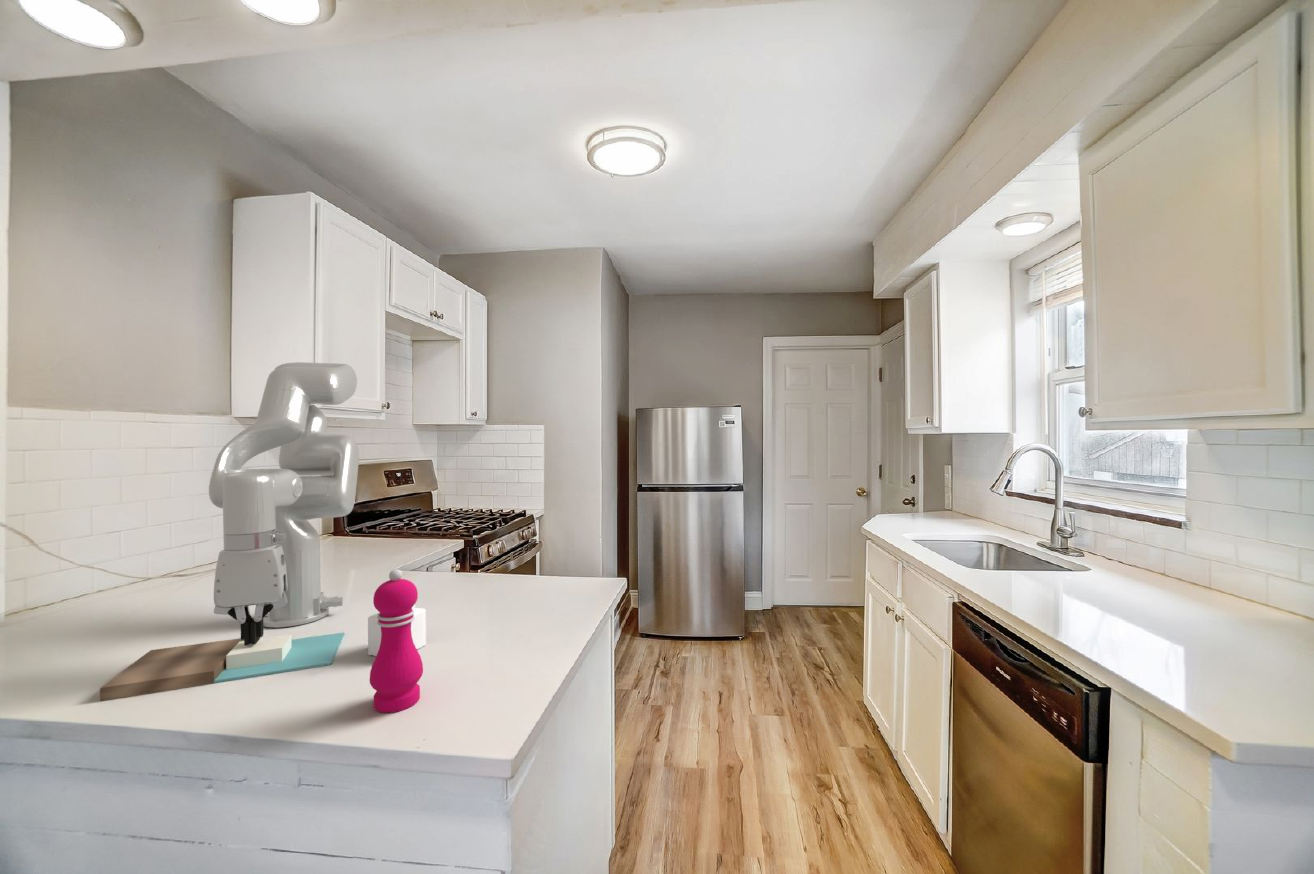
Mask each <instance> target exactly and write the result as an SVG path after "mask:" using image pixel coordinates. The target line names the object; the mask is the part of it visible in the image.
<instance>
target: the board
mask: <svg viewBox="0 0 1314 874" xmlns="http://www.w3.org/2000/svg"><path fill="white" fill-rule="evenodd" d="M240 641H244V640H241V637H239V638H233V639H226V640H225V639H224V640H218V641H211V642H210V641H209V642H203V643H202V642H201V643H195V644H188V645H187V644H186V645H179V646H172V647H165V648H158V649H151V650H149V651H147V652H146V653H145V654H143V655H142V656H141V657H139V658H138V659H137V660H136V661H134V662H133V663H132V664H130V665H129V666H127V667H126V668H125V669H123V670H122V671H120V673H118V674H117V675H116V676H114V677H112V678H111V679H110V680H109V681H107V682H106V683H105V684H104V685H102V686H101V687H100V688H99V700H100V702H104V701H109V700H115V699H122V698H128V697H134V696H142V695H147V694H153V693H160V692H167V691H172V690H179V689H187V688H190V687H191V688H192V687H198V686H205V685H211V684H214V683H213V681H214V680H215V679H216V678H217V677H218V676H219V675H220V674H221V673H222V671H223V670H224V669H225V668H226V655H227V654H228V653H229V652H230V651H231V650H232V649H233V648H234V647H235V646H236V645H237V644H238V643H239V642H240ZM210 682H211V683H210Z"/></svg>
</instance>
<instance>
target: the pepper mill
mask: <svg viewBox="0 0 1314 874" xmlns="http://www.w3.org/2000/svg"><path fill="white" fill-rule="evenodd" d="M388 577H389V580H387V581H385V582H382V583H381V584H379V586H378V587H377V588H376V590H375V592H374V593H373V606H374V609H376V610H377V612H378V613H380V614H378V616H377V618H378V622H377V624H378V625H379V626H381V643H380V647H379V651H378V653H377V656H375V658H374V661H373V663H372V664H371V668H370V672H369V684H370V686H371V687H372V689H374V690H375V693H374V695H373V709H374V710H375V711H376V712H379V713H384V714H385V713H386V714H387V713H397V712H401V711H403V710H407V709H409V708H411V707H414V705H416V704H417V703H418V702H419V700H420V699H421V689H420V688H421V687H420V684H418V682H419V681H420V679H421V678H422V676H423V673H424V666H423V661H422V657H421V655H420V653H419V651H418V650H417V649H416V647H415V645H414V643H413V639H412V634H411V622H412V621H413V620H414V610H413V609H412V607H413V606H414V604H415V605H416V603H417V602H418V599H419V596H418V595H419V593H418V589H417V587H416V585H415V583H414V582H413V581H411V580H409V579H405V578H402V577H403V572H402V570H400V569H393V570H391V571H390V572H389V574H388Z"/></svg>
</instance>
